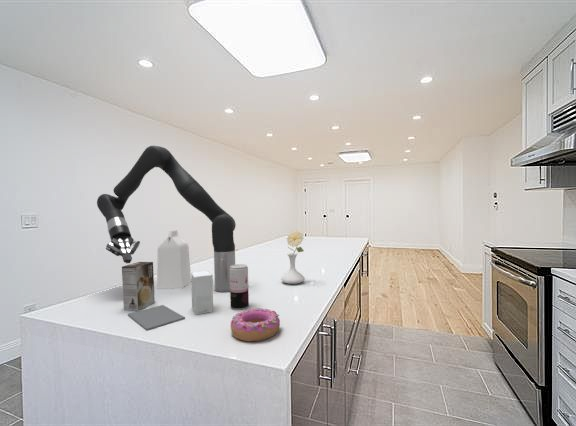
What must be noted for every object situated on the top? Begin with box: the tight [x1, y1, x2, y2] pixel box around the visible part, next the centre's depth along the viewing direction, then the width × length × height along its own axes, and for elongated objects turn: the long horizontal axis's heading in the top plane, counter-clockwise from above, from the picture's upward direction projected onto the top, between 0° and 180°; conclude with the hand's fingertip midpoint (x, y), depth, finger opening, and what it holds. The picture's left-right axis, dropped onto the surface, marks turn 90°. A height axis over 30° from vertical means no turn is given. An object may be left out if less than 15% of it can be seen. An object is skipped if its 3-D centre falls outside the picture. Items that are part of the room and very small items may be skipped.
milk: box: [156, 229, 192, 290], centre depth 135 cm, size 12×12×26 cm
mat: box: [127, 304, 186, 331], centre depth 95 cm, size 18×12×1 cm, turn 46°
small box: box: [190, 270, 214, 315], centre depth 101 cm, size 8×6×13 cm
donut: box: [230, 307, 281, 342], centre depth 83 cm, size 14×14×5 cm
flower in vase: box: [280, 230, 306, 285], centre depth 135 cm, size 13×11×25 cm
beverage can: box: [229, 263, 250, 311], centre depth 103 cm, size 7×6×15 cm
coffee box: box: [121, 261, 155, 312], centre depth 106 cm, size 9×6×16 cm
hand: (128, 262), depth 113 cm, fingers closed
